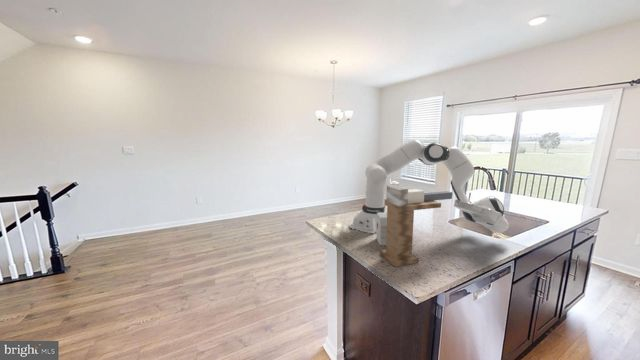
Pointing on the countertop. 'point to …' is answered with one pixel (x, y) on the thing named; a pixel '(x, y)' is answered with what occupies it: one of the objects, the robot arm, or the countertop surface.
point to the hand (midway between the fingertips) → (464, 203)
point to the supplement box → (381, 228)
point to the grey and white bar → (426, 196)
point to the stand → (401, 225)
